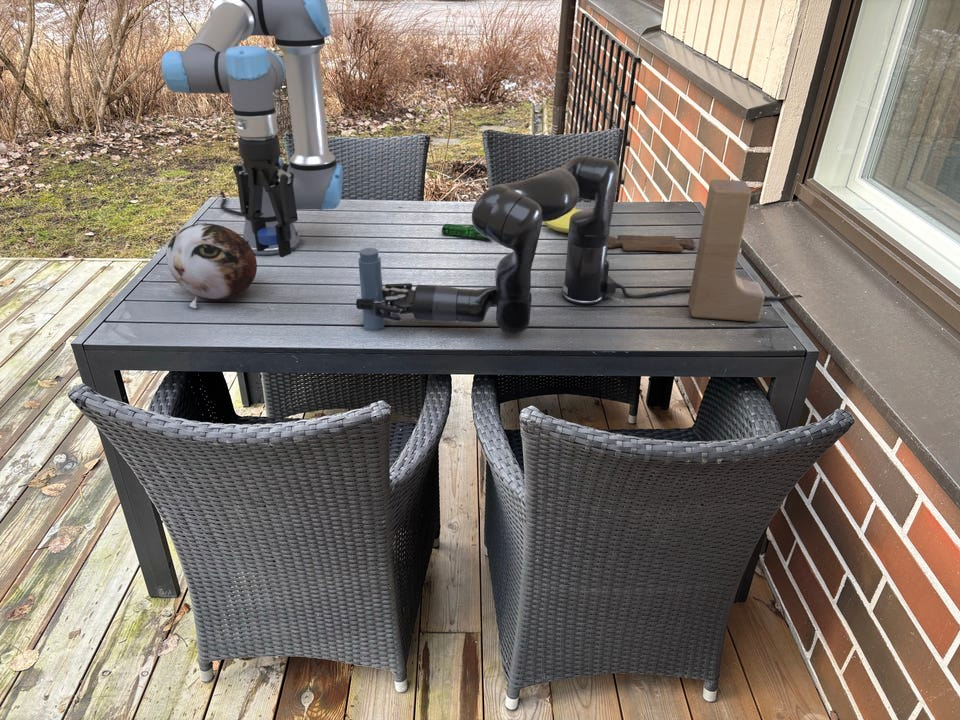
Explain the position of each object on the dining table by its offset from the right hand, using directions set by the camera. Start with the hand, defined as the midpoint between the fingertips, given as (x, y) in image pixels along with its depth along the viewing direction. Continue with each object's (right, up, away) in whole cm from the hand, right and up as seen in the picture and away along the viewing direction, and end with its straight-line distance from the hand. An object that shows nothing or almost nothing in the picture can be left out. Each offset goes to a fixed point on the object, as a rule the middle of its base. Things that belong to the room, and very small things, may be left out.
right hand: (360, 298), depth 155 cm
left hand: (-16, +9, -8) cm, 20 cm away
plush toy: (-36, +2, +14) cm, 39 cm away
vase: (+52, +25, +56) cm, 81 cm away
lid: (-16, +12, -11) cm, 23 cm away
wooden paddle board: (+73, +19, +46) cm, 88 cm away
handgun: (+25, +24, +53) cm, 63 cm away
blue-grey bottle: (+3, -6, +3) cm, 7 cm away
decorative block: (+82, -3, +10) cm, 83 cm away
